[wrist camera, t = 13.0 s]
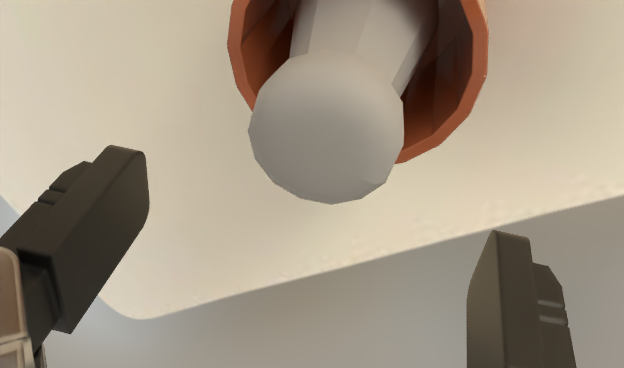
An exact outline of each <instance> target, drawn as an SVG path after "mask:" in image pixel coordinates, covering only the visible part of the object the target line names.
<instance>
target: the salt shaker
mask: <svg viewBox="0 0 624 368" xmlns="http://www.w3.org/2000/svg"><path fill="white" fill-rule="evenodd" d="M438 25H439V16H438V0H297V3H296V10H295V18H294V25H293V33H292V41H291V49H290V57H289V59H288V60H287V61H286V62H285V63H284V64H283V65H282V66H281V67H280V68H279V69H278V70H277V71H276V72H275V73H274V74H273V75H272V76H271V77H270V78H269V79H268V80H267V81H266V82H265V83H264V85H263V86H262V87H261V89H260V90H259V93H258V96H257V99H256V103H255V106H254V110H253V113H252V116H251V120H250V125H249V129H248V133H249V137H250V141H251V145H252V149H253V152H254V156H255V159H256V161H257V162H258V163H259V165H260V166H261V167H262V168H263V170H264V171H265V172H266V174H267V175H268V176H269V178H270V179H271V180H272V181H273V183H275V184H277V185H278V186H280V187H282V188H283V189H285V190H287V191H289V192H290V193H292V194H294V195H296V196H297V197H299V198H301V199H306V200H311V201H316V202H321V203H326V204H337V203H342V202H347V201H352V200H358V199H362V198H363V197H365V196H366V195H368V194H369V193H371V192H372V191H374V190H375V189H377V188H378V187H379V186H381V185H382V184H384V183H385V182H386V180H387V178H388V176H389V174H390V172H391V170H392V168H393V166H394V164H395V161H396V159H397V157H398V155H399V153H400V151H401V149H402V147H403V145H404V119H403V102H402V101H401V99H400V97H401V95H402V93H403V92H404V90H405V88H406V86H407V85H408V83H409V81H410V79H411V78H412V76H413V74H414V72H415V71H416V69H417V67H418V65H419V64H420V62H421V60H422V58H423V57H424V55H425V53H426V51H427V49H428V47H429V45H430V42H431V40H432V38H433V36H434V34H435V32H436V30H437V27H438Z"/></svg>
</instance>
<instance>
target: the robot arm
mask: <svg viewBox="0 0 624 368" xmlns="http://www.w3.org/2000/svg"><path fill="white" fill-rule="evenodd" d="M148 212H149V190H148V179H147V167H146V158H145V155H144V153H143V152H141V151H137V150H133V149H128V148H124V147H119V146H114V145H109V146H107V147H106V148H105V149H104V150H103V151H102V153H101V154H100V155H99V156H98V157H97V158H96V159H95V160H94V161H93V163H90V162H86V161H83V162H81V163H79V164H77V165H76V166H74V167H72V168H70V169H68V170H66V171H64V172H63V173H62V174H61V175H60V176H59V177H58V178H57V179H56V180H55V181H54V182H53V183H52V184H51V185H50V186H49V190H46V191H45V192H44V193H43V194H42V195H41V196H40V197H39V198H38V201H37V202H34V203H33V204H32V205H31V206H30V207H29V209H28V210H27V211H26V212H25V213H24V214H23V215H22V216H21V217H20V218H19V219H18V220H17V221H16V222H15V223H14V224H13V225H12V226H11V227H10V229H9V230H8V231H7V232H6V233H5V234H4V235H3V236H2V237H1V238H0V368H47V364H46V356H45V348H44V345H43V341H44V340H45V338H46V337H47V335H48V334H49V333H50V331H51V330H56V331H60V332H64V333H68V334H71V333H72V332H73V330H74V329H75V327H76V326H77V324H78V323H79V321H80V320H81V318H82V317H83V315H84V314H85V312H86V311H87V310H88V308H89V307H90V305H91V304H92V302H93V301H94V299H95V298H96V296H97V295H98V293H99V292H100V290H101V289H102V287H103V286H104V284H105V283H106V281H107V280H108V278H109V277H110V275H111V274H112V273H113V271H114V270H115V268H116V267H117V265H118V264H119V262H120V261H121V259H122V258H123V256H124V255H125V253H126V252H127V250H128V249H129V247H130V246H131V244H132V243H133V241H134V240H135V238H136V237H137V235H138V234H139V232H140V231H141V230H142V228H143V226H144V224H145V222H146V219H147V216H148ZM467 368H576V363H575V357H574V352H573V346H572V341H571V336H570V330H569V328H568V319H567V313H566V311H565V303H564V297H563V292H562V286H561V285H560V283H559V282H558V281H557V279H556V277H555V276H554V274H553V273H552V271H551V270H550V268H549V267H548V266H544V265H540V264H536V263H533V262H532V255H531V247H530V241H529V239H528V238H527V237H523V236H519V235H514V234H510V233H505V232H501V231H496V230H493V231H492V232H491V233H490V235H489V237H488V239H487V242H486V244H485V246H484V249H483V251H482V254H481V256H480V259H479V261H478V263H477V266H476V268H475V271H474V273H473V276H472V278H471V281H470V285H469V289H468V295H467Z"/></svg>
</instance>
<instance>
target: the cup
mask: <svg viewBox="0 0 624 368" xmlns="http://www.w3.org/2000/svg"><path fill="white" fill-rule="evenodd" d="M296 3H297V0H233V3H232V7H231V15H230V24H229V32H228V40H227V45H228V46H227V48H228V52H229V57H230V61H231V65H232V69H233V73H234V78H235V82H236V85H237V88H238V89H239V91H240V92H241V94H242V96H243V97H244V99H245V101H246V102H247V104H248V105H249V107H250V109H251V110H252V112H253V110H254V106H255V103H256V99H257V96H258V93H259V90H260V89H261V87H262V86H263V85H264V83H265V82H266V81H267V80H268V79H269V78H270V77H271V76H272V75H273V74H274V73H275V72H276V71H277V70H278V69H279V68H280V67H281V66H282V65H283V64H284V63H285V62H286V61H287V60H288V59H289V57H290V49H291V41H292V33H293V25H294V18H295V10H296ZM438 16H439V25H438V27H437V30H436V32H435V34H434V36H433V38H432V40H431V42H430V45H429V47H428V49H427V51H426V53H425V55H424V57H423V58H422V60H421V62H420V64H419V65H418V67H417V69H416V71H415V72H414V74H413V76H412V78H411V79H410V81H409V83H408V85H407V86H406V88H405V90H404V92H403V93H402V95H401V97H400V99H401V101H402V102H403V119H404V145H403V147H402V149H401V151H400V153H399V155H398V157H397V159H396V161H395V164H399V163H403V162H406V161H408V160H410V159H412V158H414V157H416V156H418V155H420V154H422V153H424V152H426V151H428V150H430V149H432V148H434V147H437V146H439V145H440V144H441V143H442V142H443V141H444V140H445V139H446V138H447V137H448V136H449V135H450V134H451V133H452V132H453V131H454V130H455V129H456V128H457V127H458V126H459V125H460V124H461V123H462V122H463V121H464V120H465V119H466V118H467V117H468V116H469V114H470V113H471V111H472V108H473V106H474V104H475V102H476V99H477V97H478V95H479V93H480V90H481V88H482V86H483V83H484V81H485V79H486V75H487V63H488V36H489V31H488V21H487V12H486V3H485V0H438Z"/></svg>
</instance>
